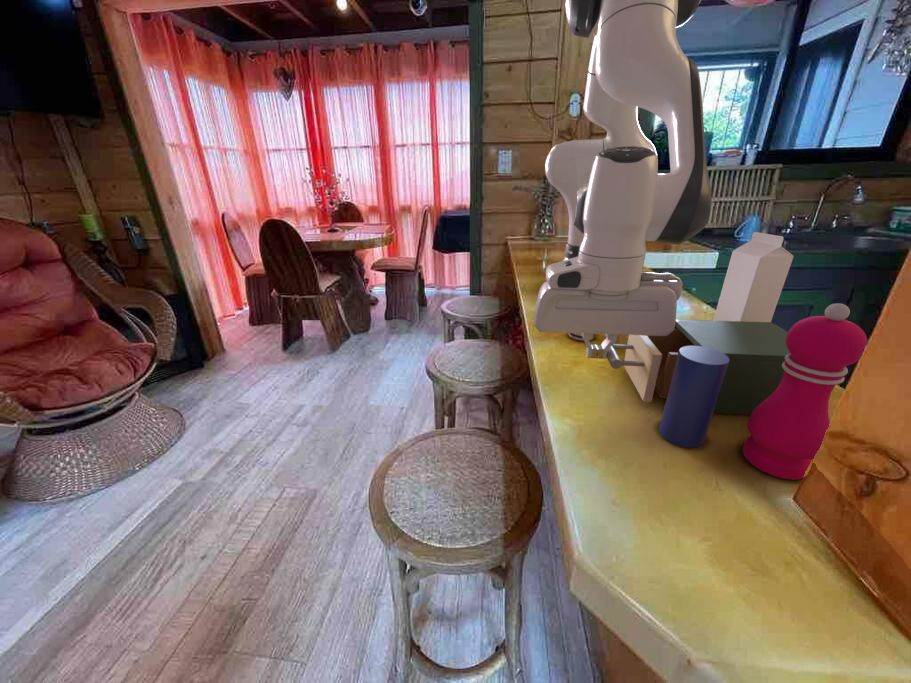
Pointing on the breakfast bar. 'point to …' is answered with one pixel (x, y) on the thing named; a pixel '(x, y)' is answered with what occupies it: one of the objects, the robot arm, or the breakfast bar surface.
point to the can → (693, 395)
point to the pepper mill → (803, 394)
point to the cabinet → (742, 359)
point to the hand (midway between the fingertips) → (595, 356)
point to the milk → (754, 280)
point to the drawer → (650, 361)
